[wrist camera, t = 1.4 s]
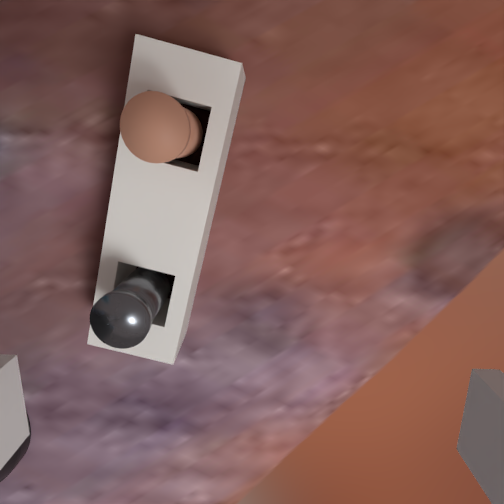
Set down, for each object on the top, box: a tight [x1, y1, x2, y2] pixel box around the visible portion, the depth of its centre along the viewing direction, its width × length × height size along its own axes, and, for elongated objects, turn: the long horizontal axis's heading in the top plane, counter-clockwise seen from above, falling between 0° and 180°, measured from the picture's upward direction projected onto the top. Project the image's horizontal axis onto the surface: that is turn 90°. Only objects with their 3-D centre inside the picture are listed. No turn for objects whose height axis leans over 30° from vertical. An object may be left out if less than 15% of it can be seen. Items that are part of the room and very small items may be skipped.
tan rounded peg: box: [120, 91, 203, 163], centre depth 28 cm, size 4×4×7 cm
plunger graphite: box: [90, 267, 170, 349], centre depth 31 cm, size 4×4×7 cm
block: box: [87, 34, 245, 365], centre depth 34 cm, size 8×26×6 cm, turn 165°
